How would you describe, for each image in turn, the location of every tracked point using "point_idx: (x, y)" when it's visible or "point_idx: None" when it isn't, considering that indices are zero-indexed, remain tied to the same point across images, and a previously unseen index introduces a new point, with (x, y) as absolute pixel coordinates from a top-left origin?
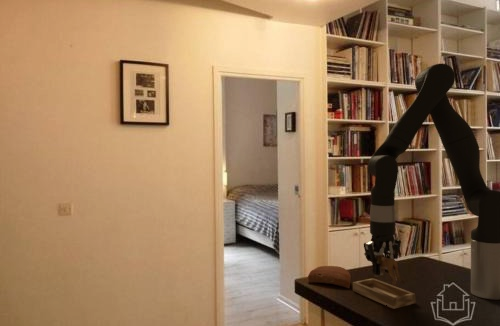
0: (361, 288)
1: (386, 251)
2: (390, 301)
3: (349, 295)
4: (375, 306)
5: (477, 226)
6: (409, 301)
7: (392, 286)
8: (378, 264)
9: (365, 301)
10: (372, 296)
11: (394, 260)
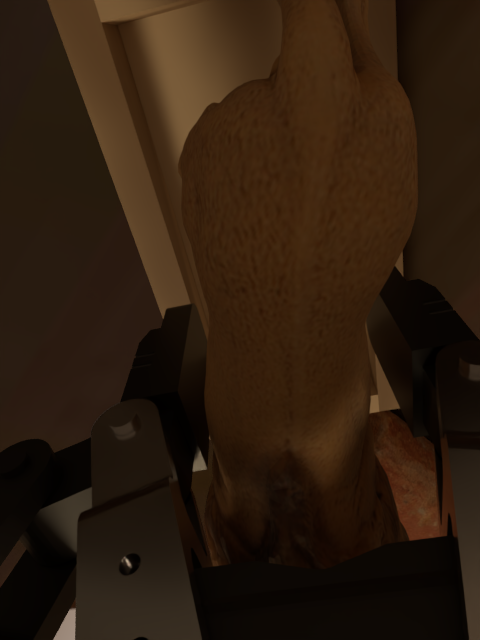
0: None
1: (266, 570)
2: None
3: (468, 307)
4: (466, 44)
5: None
6: None
7: (165, 255)
8: (446, 340)
9: (455, 174)
10: None
11: (270, 184)
